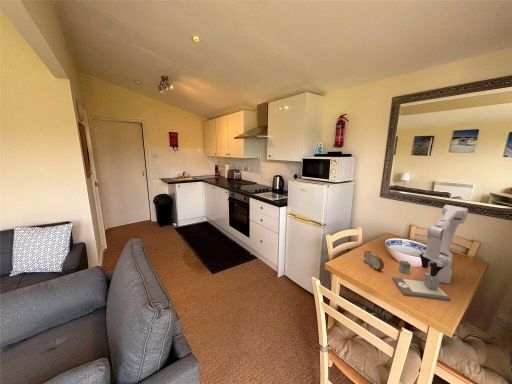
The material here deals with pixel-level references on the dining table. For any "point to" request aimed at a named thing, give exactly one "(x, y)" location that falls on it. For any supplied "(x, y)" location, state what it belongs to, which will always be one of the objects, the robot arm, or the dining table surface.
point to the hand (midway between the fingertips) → (428, 271)
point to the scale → (419, 289)
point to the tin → (374, 260)
